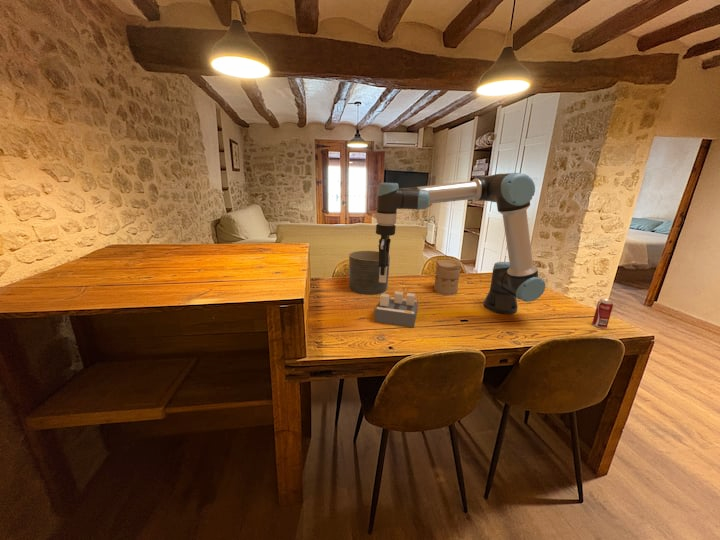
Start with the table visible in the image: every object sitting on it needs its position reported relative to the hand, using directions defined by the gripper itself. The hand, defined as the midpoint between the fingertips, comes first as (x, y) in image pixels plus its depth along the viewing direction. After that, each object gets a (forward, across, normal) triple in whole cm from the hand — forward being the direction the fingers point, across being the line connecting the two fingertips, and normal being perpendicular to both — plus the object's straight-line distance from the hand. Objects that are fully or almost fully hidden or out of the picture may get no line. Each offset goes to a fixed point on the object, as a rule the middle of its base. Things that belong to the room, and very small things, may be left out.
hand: (382, 281), depth 122 cm
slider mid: (+13, -12, +6) cm, 19 cm away
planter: (+20, -40, -15) cm, 47 cm away
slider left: (+13, -7, 0) cm, 15 cm away
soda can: (+19, -30, +93) cm, 100 cm away
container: (+19, -49, +27) cm, 59 cm away
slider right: (+13, -12, +11) cm, 21 cm away
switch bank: (+19, -10, +6) cm, 22 cm away
